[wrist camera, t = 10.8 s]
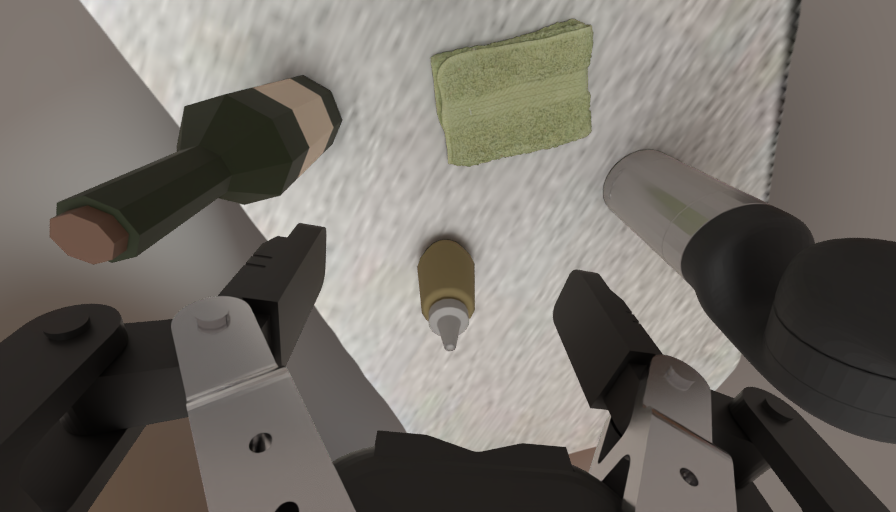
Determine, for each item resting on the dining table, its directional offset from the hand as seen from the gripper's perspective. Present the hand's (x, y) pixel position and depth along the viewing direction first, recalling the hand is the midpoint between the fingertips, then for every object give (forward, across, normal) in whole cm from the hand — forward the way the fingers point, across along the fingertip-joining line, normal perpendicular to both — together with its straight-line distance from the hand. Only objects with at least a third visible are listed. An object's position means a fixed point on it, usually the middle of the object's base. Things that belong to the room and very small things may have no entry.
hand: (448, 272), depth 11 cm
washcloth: (+35, -8, -2) cm, 36 cm away
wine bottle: (+34, +15, +4) cm, 38 cm away
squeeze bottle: (+34, -5, +20) cm, 40 cm away
